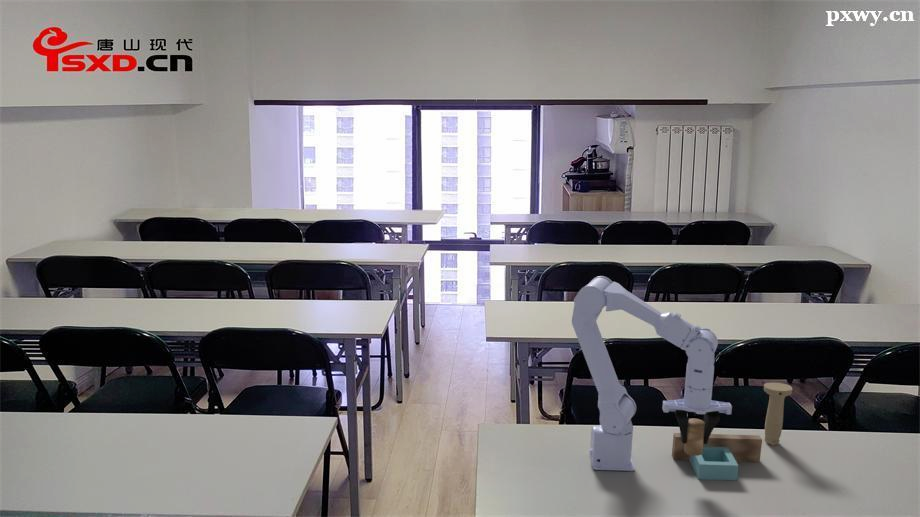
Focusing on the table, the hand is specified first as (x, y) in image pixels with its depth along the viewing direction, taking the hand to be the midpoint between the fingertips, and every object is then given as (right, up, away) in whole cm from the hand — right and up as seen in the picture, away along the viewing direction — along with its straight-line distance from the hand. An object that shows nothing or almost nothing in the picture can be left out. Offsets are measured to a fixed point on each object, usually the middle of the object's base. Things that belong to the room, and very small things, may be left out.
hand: (693, 441), depth 180 cm
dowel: (0, -2, 0) cm, 2 cm away
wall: (+8, -7, +12) cm, 16 cm away
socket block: (+6, -8, +7) cm, 12 cm away
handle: (+25, -5, +20) cm, 32 cm away
